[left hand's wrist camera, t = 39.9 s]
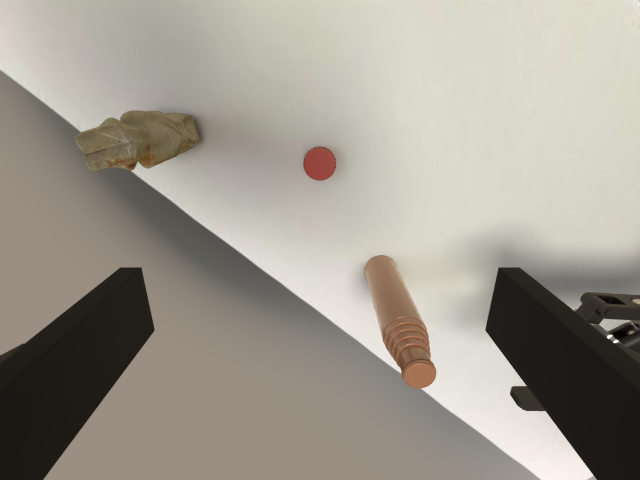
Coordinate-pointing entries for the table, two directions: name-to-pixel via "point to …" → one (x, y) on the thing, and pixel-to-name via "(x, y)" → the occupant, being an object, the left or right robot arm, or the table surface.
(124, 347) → the left robot arm
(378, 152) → the table surface
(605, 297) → the right robot arm
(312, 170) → the cap
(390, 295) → the bottle
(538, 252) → the table surface
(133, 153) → the sculpture
